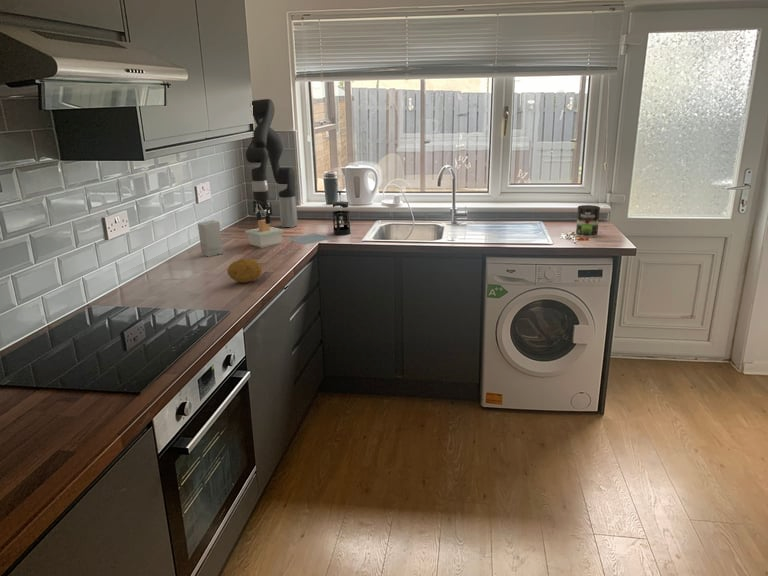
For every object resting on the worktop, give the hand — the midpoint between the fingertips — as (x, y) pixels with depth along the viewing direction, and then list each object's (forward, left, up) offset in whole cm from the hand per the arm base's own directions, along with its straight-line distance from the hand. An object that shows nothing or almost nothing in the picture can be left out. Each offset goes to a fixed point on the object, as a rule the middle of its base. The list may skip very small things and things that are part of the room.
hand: (263, 222), depth 285 cm
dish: (0, 0, -11) cm, 11 cm away
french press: (+11, +40, -11) cm, 43 cm away
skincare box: (-1, -28, -11) cm, 30 cm away
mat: (+8, +21, -11) cm, 25 cm away
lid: (0, 0, -5) cm, 5 cm away
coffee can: (+107, +119, -11) cm, 160 cm away
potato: (+52, -39, -11) cm, 66 cm away
